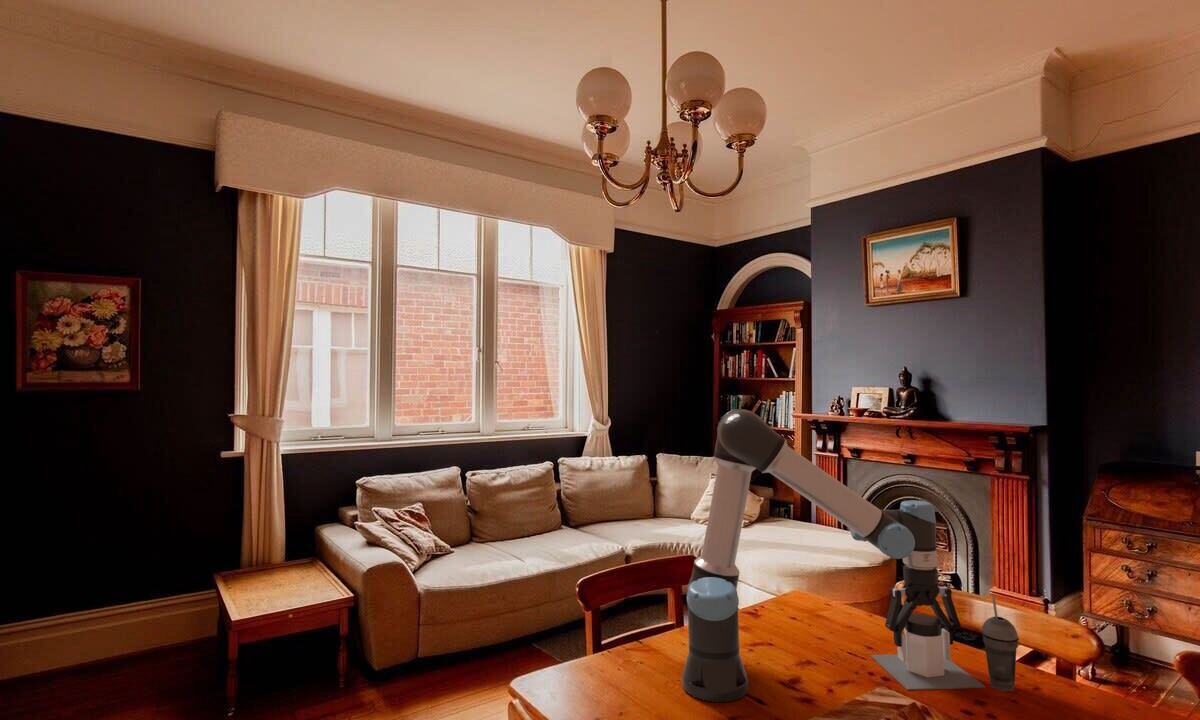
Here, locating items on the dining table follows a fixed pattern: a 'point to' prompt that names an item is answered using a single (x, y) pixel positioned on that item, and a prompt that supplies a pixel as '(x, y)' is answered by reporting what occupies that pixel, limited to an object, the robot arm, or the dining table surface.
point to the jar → (924, 645)
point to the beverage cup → (1000, 651)
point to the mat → (912, 681)
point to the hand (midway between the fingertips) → (924, 658)
